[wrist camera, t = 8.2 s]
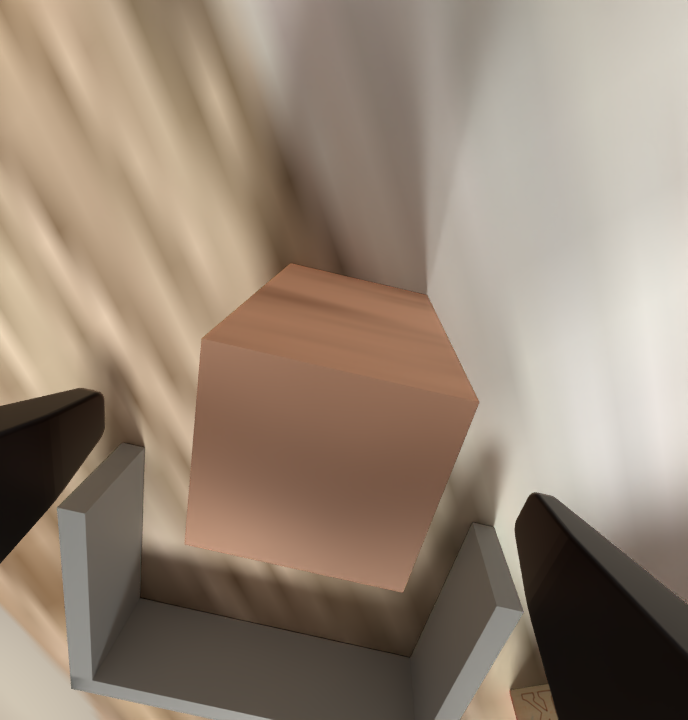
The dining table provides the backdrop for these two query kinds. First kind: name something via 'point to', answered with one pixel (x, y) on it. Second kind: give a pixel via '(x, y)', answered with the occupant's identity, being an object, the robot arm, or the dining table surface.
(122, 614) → the open-fronted box
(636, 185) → the dining table surface
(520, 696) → the stack of blocks
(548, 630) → the robot arm
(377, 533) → the terracotta block
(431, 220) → the dining table surface
